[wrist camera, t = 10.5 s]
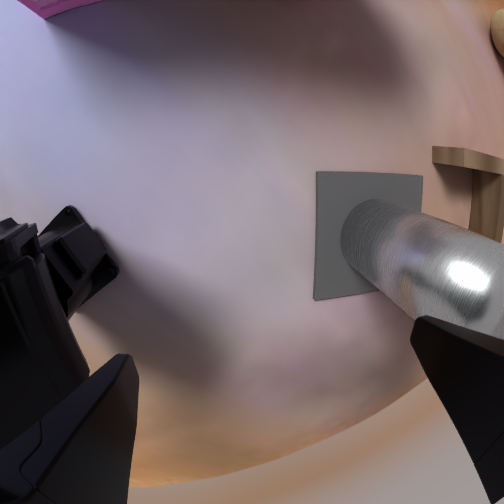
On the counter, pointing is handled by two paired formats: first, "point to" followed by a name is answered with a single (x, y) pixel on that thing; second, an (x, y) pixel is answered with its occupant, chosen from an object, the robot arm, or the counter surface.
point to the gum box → (53, 6)
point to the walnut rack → (480, 188)
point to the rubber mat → (335, 213)
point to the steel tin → (427, 264)
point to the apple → (498, 30)
